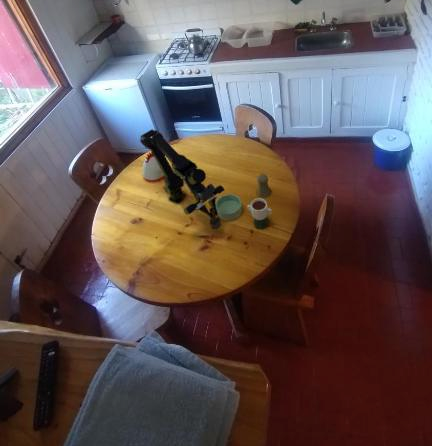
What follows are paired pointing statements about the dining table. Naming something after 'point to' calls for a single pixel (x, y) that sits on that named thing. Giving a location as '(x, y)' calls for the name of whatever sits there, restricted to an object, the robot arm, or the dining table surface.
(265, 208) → the character mug
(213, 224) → the grey peg stand
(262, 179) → the pepper mill
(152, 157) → the kitchen timer
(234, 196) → the bowl
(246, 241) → the dining table surface
